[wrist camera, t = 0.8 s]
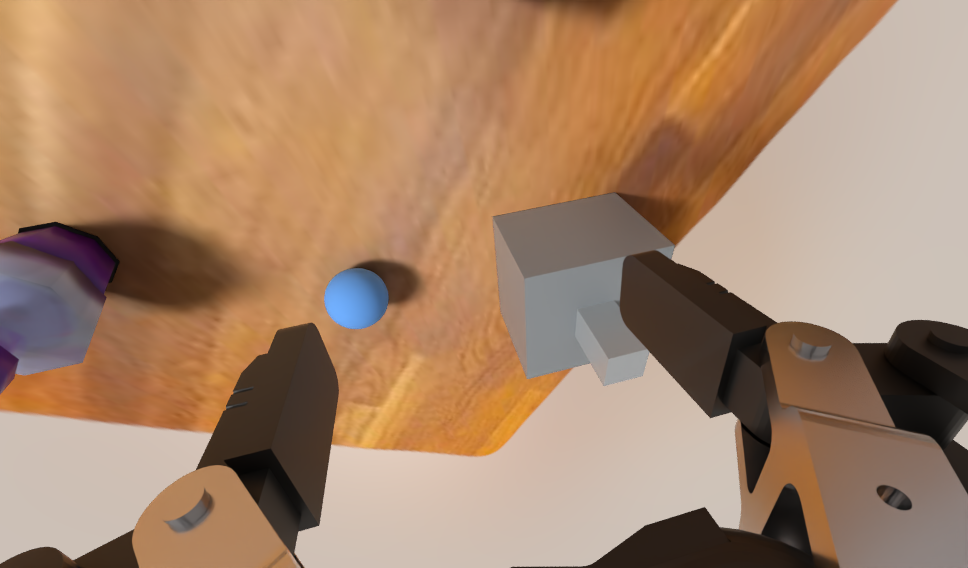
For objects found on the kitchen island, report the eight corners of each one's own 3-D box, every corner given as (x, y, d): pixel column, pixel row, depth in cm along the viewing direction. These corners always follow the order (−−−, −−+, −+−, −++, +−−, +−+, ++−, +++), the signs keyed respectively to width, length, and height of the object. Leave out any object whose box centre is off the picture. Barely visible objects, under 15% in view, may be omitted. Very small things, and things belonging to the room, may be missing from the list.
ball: (318, 263, 32) (311, 302, 28) (379, 250, 32) (380, 287, 29) (338, 307, 35) (334, 348, 31) (393, 295, 36) (396, 333, 32)
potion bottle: (-56, 246, 25) (-301, 403, 16) (38, 175, 24) (-169, 300, 15) (92, 321, 30) (-26, 470, 21) (174, 266, 29) (86, 399, 20)
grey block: (492, 216, 33) (550, 330, 22) (615, 192, 34) (724, 288, 24) (500, 311, 40) (547, 431, 29) (601, 288, 41) (680, 395, 31)
